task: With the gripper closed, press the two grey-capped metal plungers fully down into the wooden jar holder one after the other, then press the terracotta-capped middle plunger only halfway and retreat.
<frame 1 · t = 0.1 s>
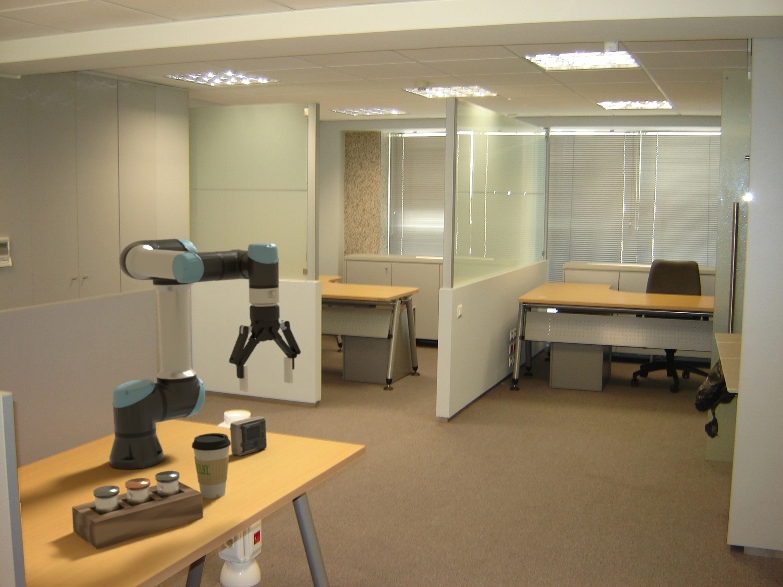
hand: (266, 386, 207), 28 cm above the table, fingers open, 13 cm apart
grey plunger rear: (167, 488, 194), point 7 cm above the table, slide at 0.0 cm
wooden jar holder: (139, 524, 190), on the table
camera: (249, 452, 246), on the table
grey plunger front: (107, 504, 184), point 7 cm above the table, slide at 0.0 cm
coffee cup: (213, 494, 209), on the table
terracotta plunger: (138, 496, 189), point 7 cm above the table, slide at 0.0 cm
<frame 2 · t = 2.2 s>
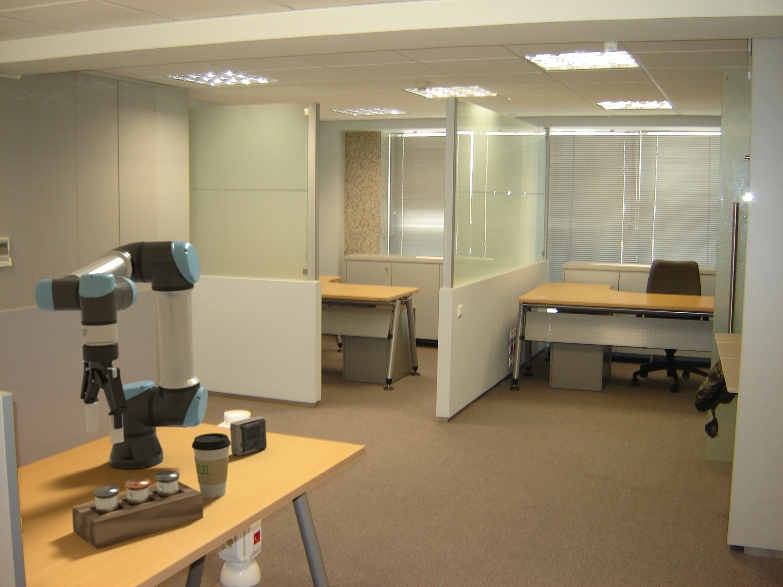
hand: (104, 436, 182), 23 cm above the table, fingers open, 12 cm apart
nothing on the table moved.
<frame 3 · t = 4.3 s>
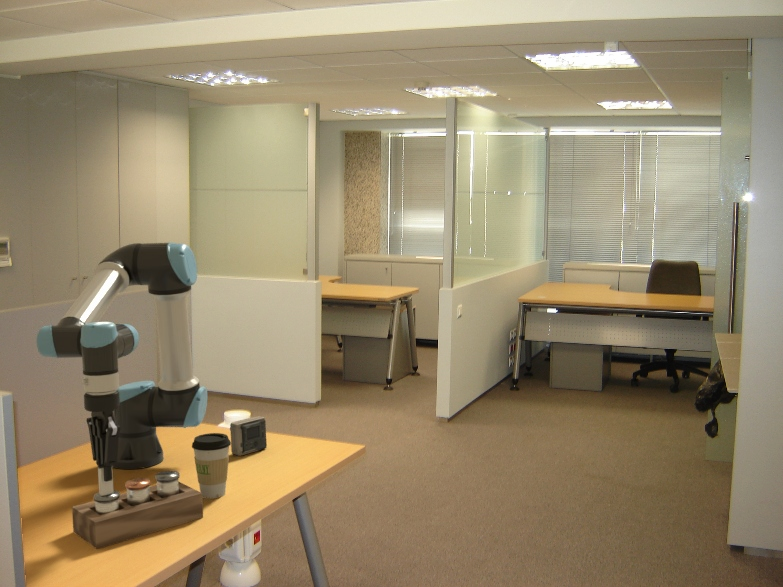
hand: (106, 493, 183), 9 cm above the table, fingers closed
grey plunger front: (107, 508, 184), point 6 cm above the table, slide at -1.1 cm, touching gripper
everything else where it was.
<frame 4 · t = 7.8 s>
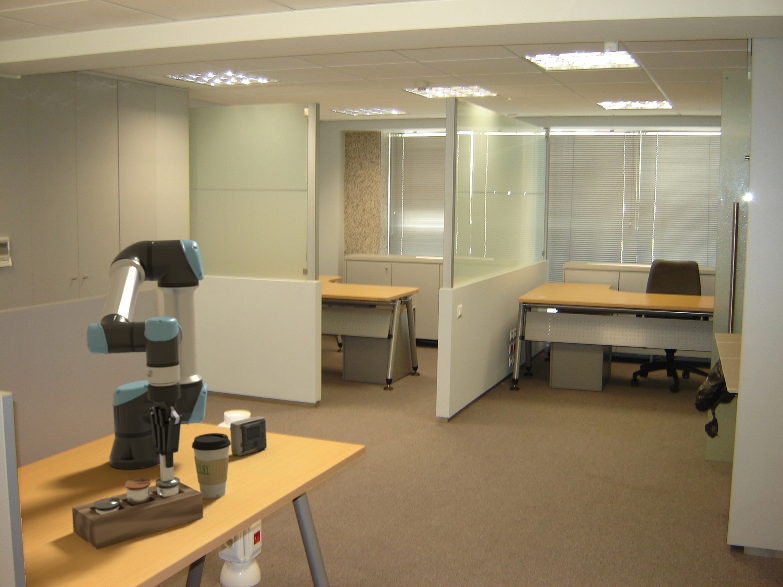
hand: (167, 479, 193), 9 cm above the table, fingers closed
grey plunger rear: (168, 494, 194), point 5 cm above the table, slide at -1.5 cm, touching gripper
grey plunger front: (107, 516, 184), point 4 cm above the table, slide at -2.9 cm
everything else where it was.
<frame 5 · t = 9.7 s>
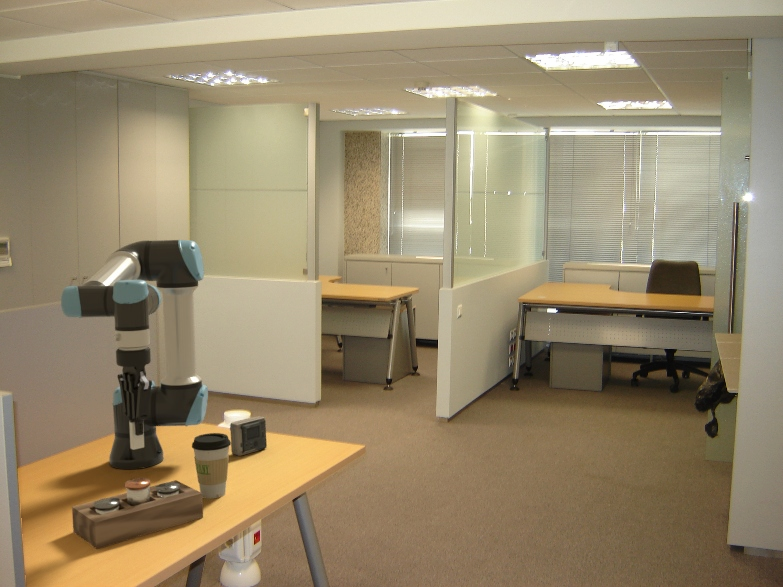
hand: (137, 447, 188), 18 cm above the table, fingers closed
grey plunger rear: (168, 500, 194), point 4 cm above the table, slide at -2.9 cm
everything else where it was.
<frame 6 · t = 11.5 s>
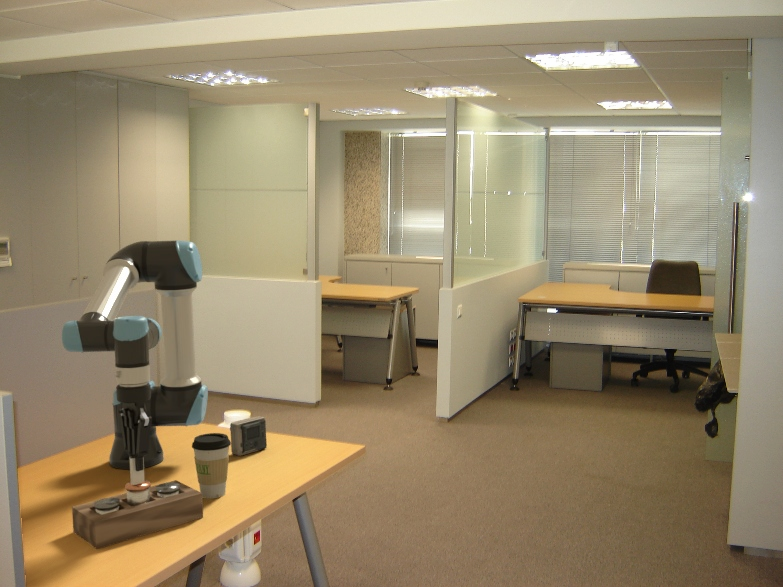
hand: (137, 483, 188), 10 cm above the table, fingers closed
terracotta plunger: (138, 498, 189), point 6 cm above the table, slide at -0.5 cm, touching gripper
everything else where it was.
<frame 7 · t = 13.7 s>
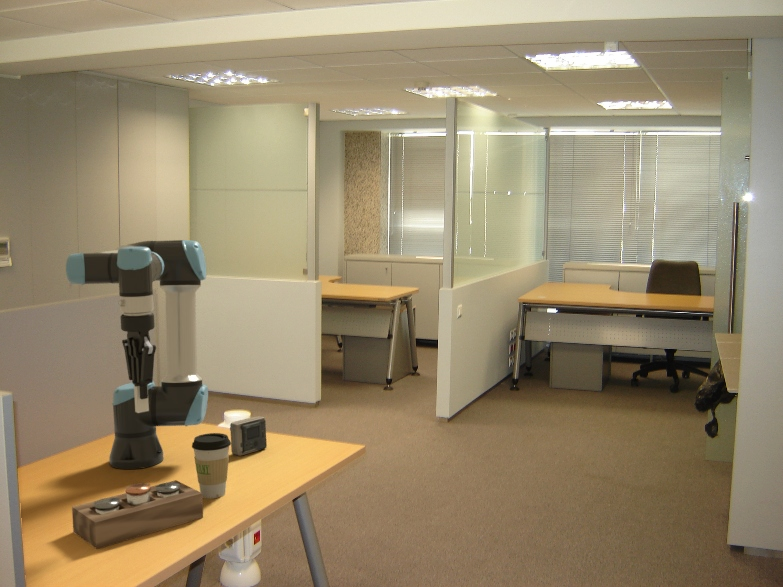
hand: (142, 411, 192), 26 cm above the table, fingers closed
terracotta plunger: (138, 501, 189), point 6 cm above the table, slide at -1.3 cm
everything else where it was.
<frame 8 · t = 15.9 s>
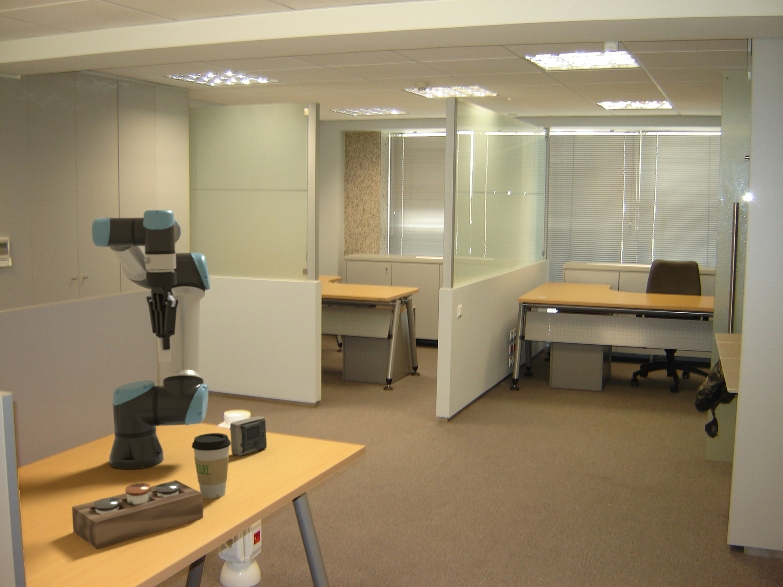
hand: (164, 361, 208), 34 cm above the table, fingers closed
nothing on the table moved.
at the end: grey plunger front slide at -2.9 cm; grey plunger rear slide at -2.9 cm; terracotta plunger slide at -1.3 cm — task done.
